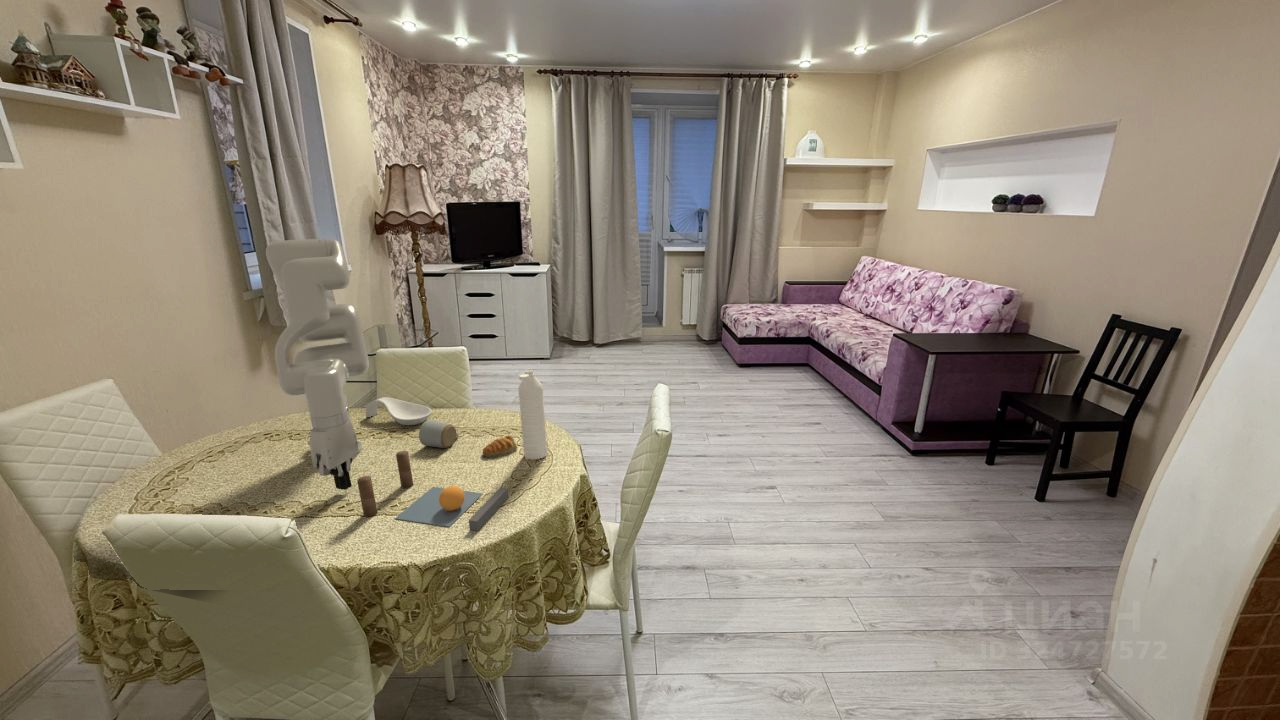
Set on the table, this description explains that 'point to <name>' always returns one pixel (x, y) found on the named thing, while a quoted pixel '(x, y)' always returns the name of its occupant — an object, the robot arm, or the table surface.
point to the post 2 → (404, 469)
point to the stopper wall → (488, 509)
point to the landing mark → (436, 509)
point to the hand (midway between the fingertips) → (343, 487)
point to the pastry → (500, 447)
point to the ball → (451, 498)
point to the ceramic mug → (437, 434)
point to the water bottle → (532, 416)
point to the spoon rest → (401, 411)
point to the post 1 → (367, 496)
